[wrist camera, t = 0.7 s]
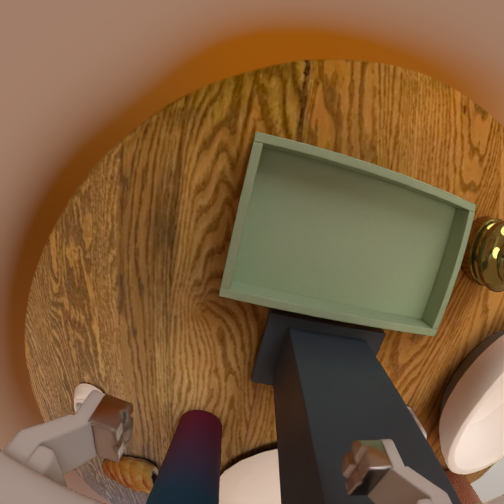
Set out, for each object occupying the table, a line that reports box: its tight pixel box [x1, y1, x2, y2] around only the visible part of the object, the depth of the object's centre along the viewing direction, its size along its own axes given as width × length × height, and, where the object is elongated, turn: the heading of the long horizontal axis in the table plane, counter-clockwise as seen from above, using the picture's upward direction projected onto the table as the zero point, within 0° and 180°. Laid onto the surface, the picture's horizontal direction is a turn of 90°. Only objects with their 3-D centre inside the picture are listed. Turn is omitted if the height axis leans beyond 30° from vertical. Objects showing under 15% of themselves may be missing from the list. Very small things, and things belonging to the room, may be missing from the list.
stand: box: [251, 308, 462, 504], centre depth 18 cm, size 8×12×26 cm, turn 77°
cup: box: [146, 410, 222, 504], centre depth 25 cm, size 7×7×15 cm
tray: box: [219, 132, 476, 336], centre depth 26 cm, size 14×22×3 cm, turn 77°
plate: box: [219, 448, 281, 504], centre depth 35 cm, size 25×25×2 cm
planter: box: [445, 470, 482, 504], centre depth 32 cm, size 12×12×11 cm
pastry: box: [102, 456, 159, 493], centre depth 33 cm, size 9×7×4 cm
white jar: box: [74, 384, 103, 412], centre depth 31 cm, size 5×3×5 cm
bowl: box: [439, 330, 504, 474], centre depth 28 cm, size 22×22×8 cm
